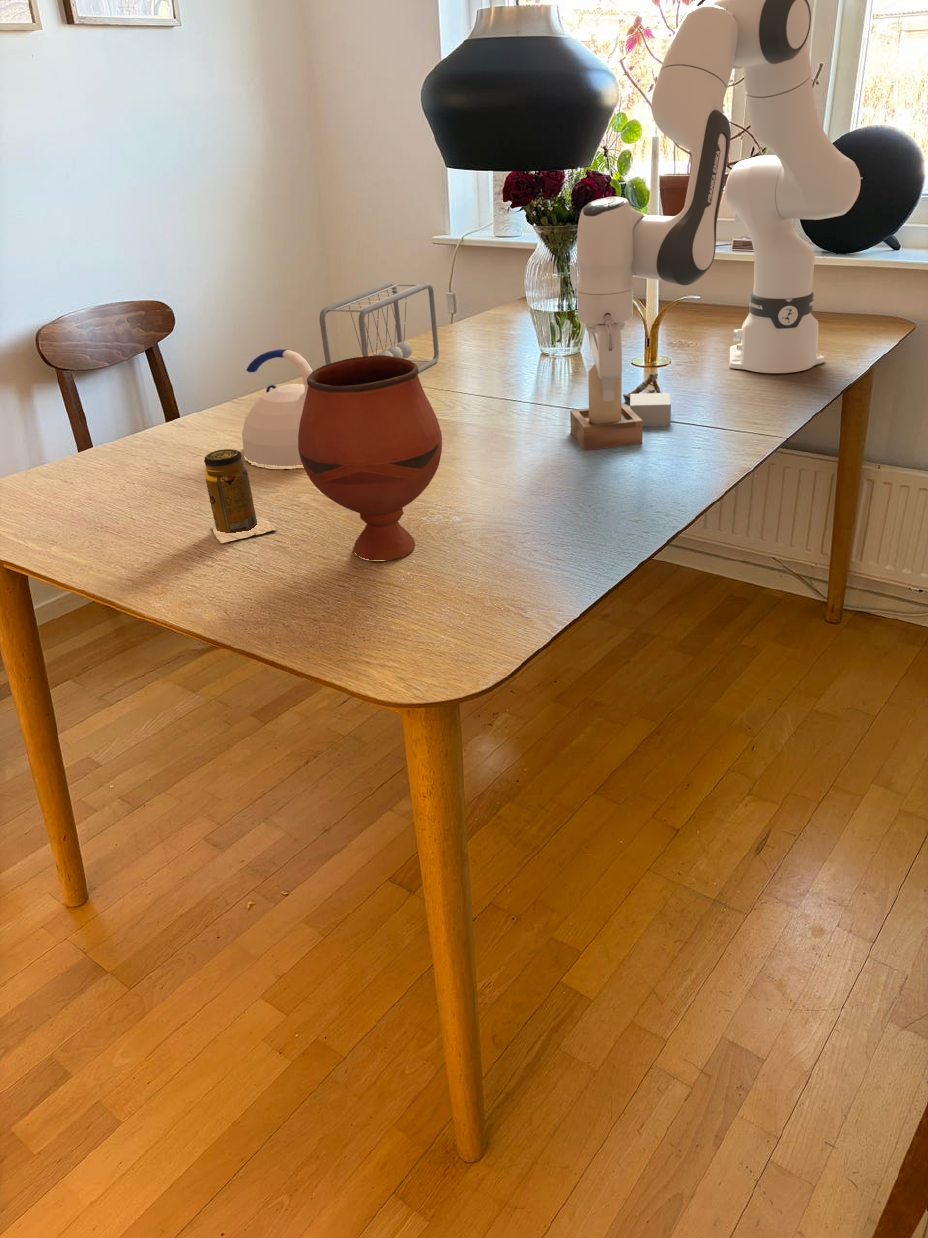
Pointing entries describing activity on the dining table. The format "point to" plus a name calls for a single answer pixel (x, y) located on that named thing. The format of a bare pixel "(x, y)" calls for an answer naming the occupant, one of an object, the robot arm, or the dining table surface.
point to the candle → (597, 406)
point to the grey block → (652, 408)
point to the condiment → (229, 491)
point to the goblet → (370, 445)
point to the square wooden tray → (606, 429)
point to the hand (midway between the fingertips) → (605, 391)
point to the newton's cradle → (402, 347)
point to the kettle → (276, 417)
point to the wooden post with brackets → (644, 386)
